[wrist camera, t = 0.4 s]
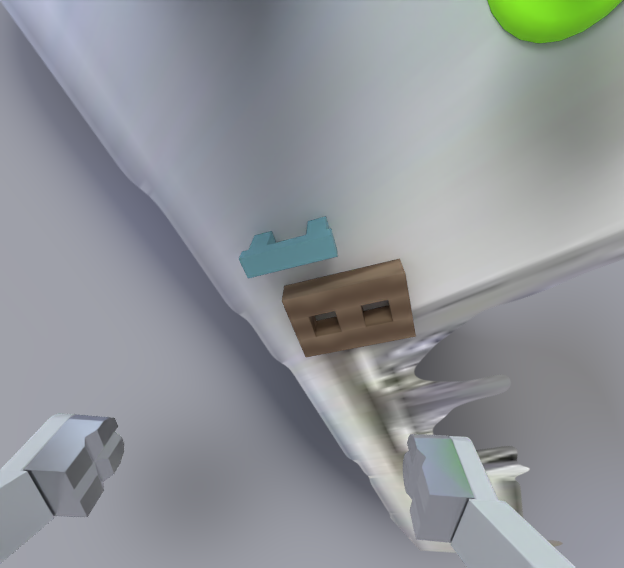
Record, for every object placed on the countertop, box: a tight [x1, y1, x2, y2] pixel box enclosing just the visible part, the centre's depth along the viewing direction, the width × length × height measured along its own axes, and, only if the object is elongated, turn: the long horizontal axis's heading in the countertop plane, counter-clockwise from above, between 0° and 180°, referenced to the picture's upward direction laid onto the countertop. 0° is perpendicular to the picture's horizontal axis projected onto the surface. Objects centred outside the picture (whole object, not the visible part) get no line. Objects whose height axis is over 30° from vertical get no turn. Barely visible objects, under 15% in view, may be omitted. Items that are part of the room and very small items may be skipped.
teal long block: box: [239, 216, 338, 278], centre depth 43 cm, size 3×12×7 cm, turn 107°
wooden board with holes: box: [282, 259, 416, 357], centre depth 51 cm, size 12×18×4 cm, turn 107°
